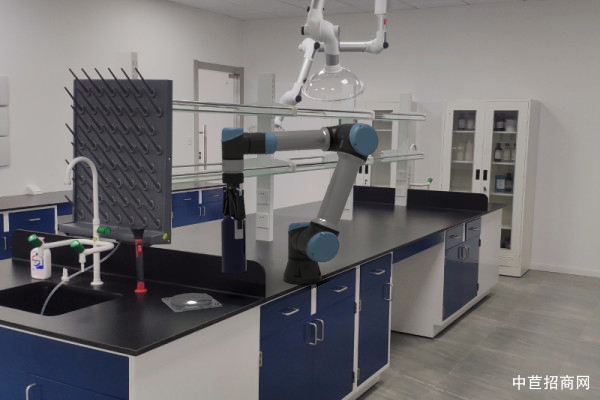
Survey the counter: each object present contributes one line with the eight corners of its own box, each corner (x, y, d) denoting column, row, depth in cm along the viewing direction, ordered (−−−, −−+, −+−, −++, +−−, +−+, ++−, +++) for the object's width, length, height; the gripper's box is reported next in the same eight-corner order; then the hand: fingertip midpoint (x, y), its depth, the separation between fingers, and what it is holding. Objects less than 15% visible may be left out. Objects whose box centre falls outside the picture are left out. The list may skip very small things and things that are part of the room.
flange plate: (206, 295, 223) (206, 290, 223) (222, 306, 209) (222, 301, 209) (161, 300, 216) (161, 295, 215) (175, 312, 202) (175, 307, 201)
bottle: (218, 269, 224) (217, 185, 221) (243, 267, 228) (242, 185, 224) (224, 275, 216) (223, 188, 212) (250, 272, 219) (249, 187, 216)
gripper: (211, 170, 225) (213, 232, 228) (234, 174, 206) (235, 242, 209) (231, 169, 229) (232, 231, 231) (255, 173, 210) (256, 240, 213)
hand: (233, 236), depth 220 cm, fingers closed on bottle, 9 cm apart
